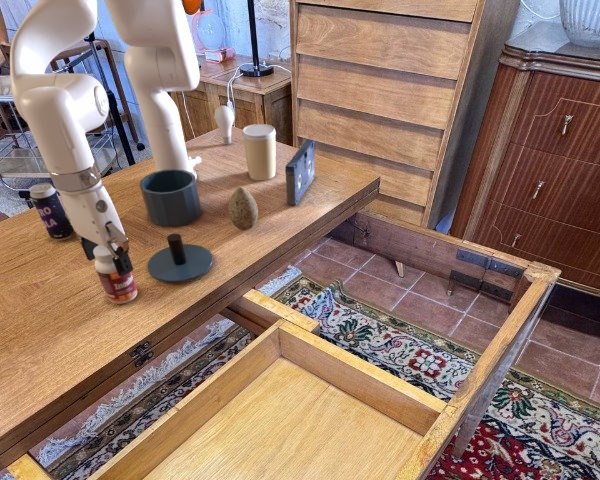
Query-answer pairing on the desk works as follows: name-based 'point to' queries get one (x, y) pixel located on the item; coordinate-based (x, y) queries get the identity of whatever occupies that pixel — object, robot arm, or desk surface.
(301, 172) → the vhs cassette tape
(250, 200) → the decorative egg
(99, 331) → the desk surface
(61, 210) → the beverage can
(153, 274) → the tin lid
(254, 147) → the coffee cup
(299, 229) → the desk surface
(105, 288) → the pill bottle
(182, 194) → the tin
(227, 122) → the lightbulb
